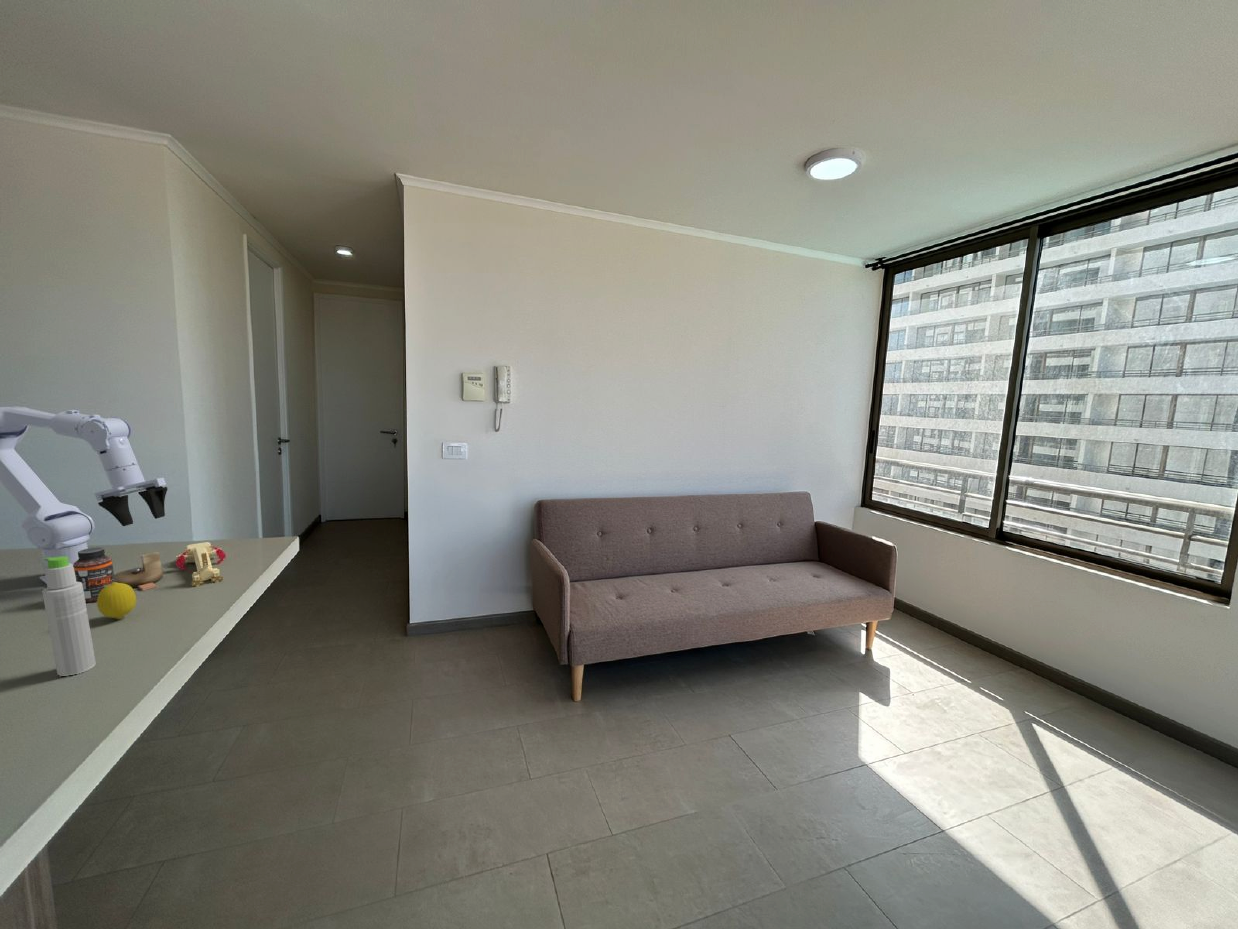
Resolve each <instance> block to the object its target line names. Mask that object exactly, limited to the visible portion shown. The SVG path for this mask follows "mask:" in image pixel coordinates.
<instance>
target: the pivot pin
mask: <svg viewBox="0 0 1238 929" xmlns="http://www.w3.org/2000/svg"><path fill="white" fill-rule="evenodd" d="M130 569H131V571H132V573H139V572H141V567H135V568H130Z"/></svg>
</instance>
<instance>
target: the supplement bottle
mask: <svg viewBox="0 0 1238 929" xmlns="http://www.w3.org/2000/svg"><path fill="white" fill-rule="evenodd" d="M78 557H79V559H78V560H77V561H76V562H75V563H74V564H73V568H74V571H75V576H76V582H81V583H82V585H83V591H84V597H85V603H93V602H97V599H98V595H99V593H100V591H101V590H102V589H104V588H105V587H106V586H108V585H111V583H113V582H115V578H114V575H115V571H114V564H113V560H112V558H111V557H110V556H109V555H106V553H105V548H104V547H100V546H99V547H98V546H97V547H88V549H84V550H81V551H79V552H78Z"/></svg>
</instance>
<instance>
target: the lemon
mask: <svg viewBox="0 0 1238 929" xmlns="http://www.w3.org/2000/svg"><path fill="white" fill-rule="evenodd" d="M136 603H137V595H136V593H135V591H134V588H131V587H130V586H129V585H127V584H123V583H117V582H113V583H111V585H108V586H106V587H105V588H104V589H102V590H101V591H100V593H99V595H98V599H97V601H96V606H97V610H98V611H99V612H100V613H101V615H102V616H104V617H108V618H113V619H116V620H121V619H122V618H124V616H126V615H128V614H129V613H130V612H131V611H132V610H133V609H134V608H135V606H136Z"/></svg>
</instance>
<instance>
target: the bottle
mask: <svg viewBox="0 0 1238 929" xmlns="http://www.w3.org/2000/svg"><path fill="white" fill-rule="evenodd" d="M45 561H48V567H47V568H46V569H44V574H45V575H44V576H46V582H47V584H46V588H44V589H42V591H41V593H42V598H43V604H44V609H45V613H46V619H47V625H48V630H49V636H50V637H49V638H50V640H51V641H50V642H51V646H52V650H53V657H54V663H55V668H56V673H57V676H58V675H72V674H77V675H80V674H83V673H85V672H87V671H89V670H91V669H93V668H94V667H96V664H97V663H96V657H95V650H94V644H93V640H92V633H91V627H90V620H89V616H88V610H87V604H86V603H87V602H85V597H84V591H83V585H82V583H81V582H76V576H75V571H74V568H73V564H71V563H69V562H68V558H67V557H66V556H60V557H54V558H46V559H45ZM82 672H83V673H82ZM79 673H80V674H79Z"/></svg>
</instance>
